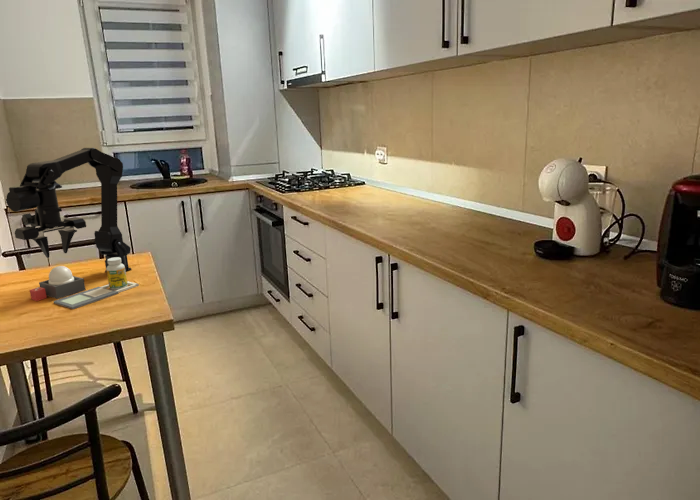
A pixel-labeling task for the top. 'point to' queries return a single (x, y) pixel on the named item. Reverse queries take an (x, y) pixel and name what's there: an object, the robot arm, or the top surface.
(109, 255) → the robot arm
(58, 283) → the dome
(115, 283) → the supplement bottle
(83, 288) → the dome housing
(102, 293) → the game board
